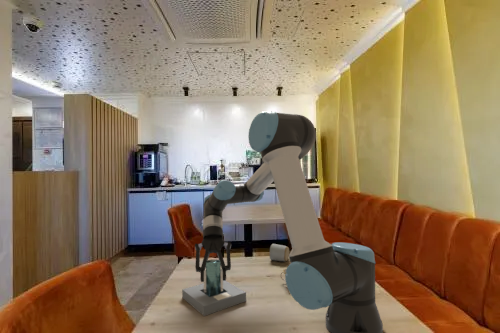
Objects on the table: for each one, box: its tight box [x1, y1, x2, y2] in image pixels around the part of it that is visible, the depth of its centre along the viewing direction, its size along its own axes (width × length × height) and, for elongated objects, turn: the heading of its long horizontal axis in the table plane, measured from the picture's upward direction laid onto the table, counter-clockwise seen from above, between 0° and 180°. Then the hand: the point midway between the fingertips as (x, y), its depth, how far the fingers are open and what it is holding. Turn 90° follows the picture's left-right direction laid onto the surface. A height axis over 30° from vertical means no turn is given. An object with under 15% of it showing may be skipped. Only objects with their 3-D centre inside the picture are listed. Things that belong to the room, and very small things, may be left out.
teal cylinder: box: [205, 259, 222, 297], centre depth 102 cm, size 5×5×12 cm
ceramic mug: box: [269, 243, 290, 262], centre depth 144 cm, size 11×8×8 cm
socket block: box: [181, 280, 247, 317], centre depth 102 cm, size 16×16×3 cm
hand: (213, 290), depth 98 cm, fingers closed on teal cylinder, 5 cm apart
